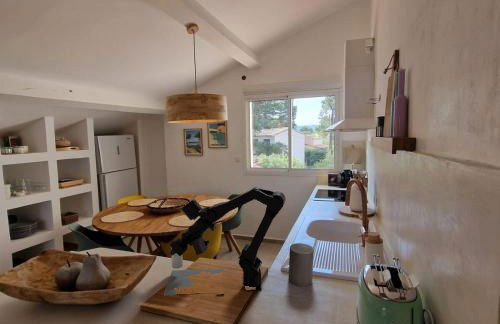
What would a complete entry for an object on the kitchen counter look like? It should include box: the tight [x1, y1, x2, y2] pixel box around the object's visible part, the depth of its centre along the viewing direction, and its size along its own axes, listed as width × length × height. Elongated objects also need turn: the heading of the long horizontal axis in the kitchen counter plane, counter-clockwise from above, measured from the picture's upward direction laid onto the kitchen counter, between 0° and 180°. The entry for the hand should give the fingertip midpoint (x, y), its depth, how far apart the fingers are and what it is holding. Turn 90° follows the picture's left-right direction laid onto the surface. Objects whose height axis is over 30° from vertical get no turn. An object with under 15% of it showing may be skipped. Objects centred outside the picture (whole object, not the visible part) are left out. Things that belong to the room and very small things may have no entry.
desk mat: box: [163, 268, 225, 296], centre depth 109 cm, size 22×18×1 cm
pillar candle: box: [288, 242, 315, 287], centre depth 111 cm, size 10×10×15 cm
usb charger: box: [170, 247, 184, 270], centre depth 113 cm, size 4×4×11 cm
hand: (173, 252), depth 113 cm, fingers closed on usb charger, 4 cm apart
